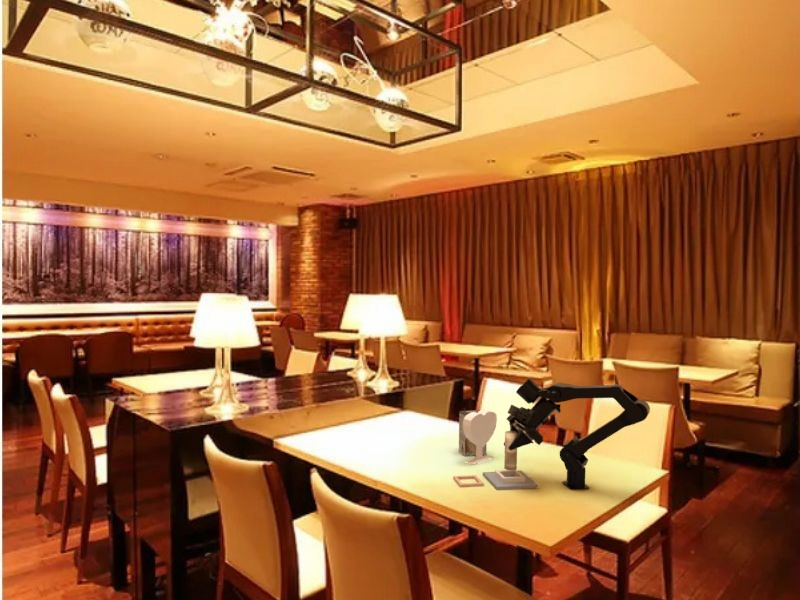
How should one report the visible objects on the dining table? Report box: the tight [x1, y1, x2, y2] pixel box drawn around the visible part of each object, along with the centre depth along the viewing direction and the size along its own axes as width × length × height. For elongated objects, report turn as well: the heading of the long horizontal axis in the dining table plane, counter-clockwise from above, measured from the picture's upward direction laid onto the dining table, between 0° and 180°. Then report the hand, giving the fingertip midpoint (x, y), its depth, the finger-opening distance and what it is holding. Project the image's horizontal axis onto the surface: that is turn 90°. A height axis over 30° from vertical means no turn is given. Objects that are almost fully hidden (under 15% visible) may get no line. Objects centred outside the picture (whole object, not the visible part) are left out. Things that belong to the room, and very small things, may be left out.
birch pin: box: [503, 430, 518, 470], centre depth 190 cm, size 4×4×12 cm
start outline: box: [452, 474, 485, 488], centre depth 189 cm, size 8×8×1 cm
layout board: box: [482, 469, 539, 491], centre depth 191 cm, size 14×14×2 cm
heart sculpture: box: [463, 409, 498, 465], centre depth 212 cm, size 16×5×18 cm, turn 134°
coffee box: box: [458, 409, 487, 457], centre depth 221 cm, size 9×6×16 cm
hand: (506, 447), depth 190 cm, fingers closed on birch pin, 4 cm apart
